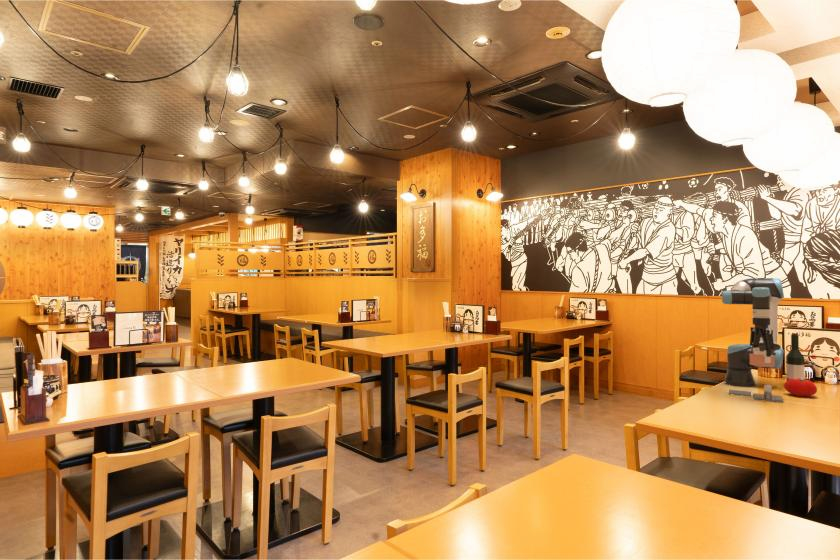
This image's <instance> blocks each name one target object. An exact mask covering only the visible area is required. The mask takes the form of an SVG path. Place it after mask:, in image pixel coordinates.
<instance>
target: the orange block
mask: <svg viewBox="0 0 840 560" xmlns="http://www.w3.org/2000/svg"><path fill="white" fill-rule="evenodd" d="M750 365H754V366H757V367H775V357H774V355H771V363H764V352H755V354H750ZM757 367H756V368H757Z"/></svg>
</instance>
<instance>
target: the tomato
mask: <svg viewBox="0 0 840 560" xmlns="http://www.w3.org/2000/svg"><path fill="white" fill-rule="evenodd" d="M783 387H784V389H785V391H786V392H788V393H789V394H791V395H794V396H795V397H811V396H813V395H815V394H816V393H817V392H818V391H817V390H818V388H817V385H816V384H815V383H814V382H813V381H812V380H809V379H805V380H804V379H803V380H801V379H789V380H787V379H786V380H785V382H784V385H783Z"/></svg>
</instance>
